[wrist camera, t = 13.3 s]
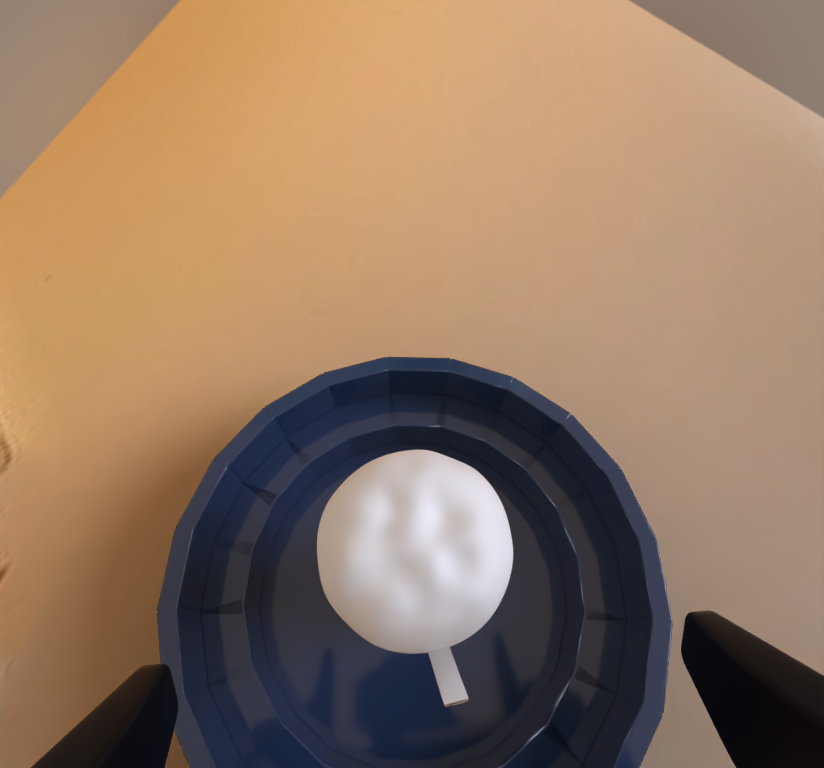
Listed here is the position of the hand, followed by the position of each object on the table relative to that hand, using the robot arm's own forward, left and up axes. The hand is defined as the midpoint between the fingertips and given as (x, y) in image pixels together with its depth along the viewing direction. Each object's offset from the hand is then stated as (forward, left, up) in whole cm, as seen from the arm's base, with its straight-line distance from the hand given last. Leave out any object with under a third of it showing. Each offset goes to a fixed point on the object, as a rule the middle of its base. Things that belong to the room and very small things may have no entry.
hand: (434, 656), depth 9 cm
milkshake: (+1, +2, -10) cm, 11 cm away
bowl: (+1, +2, -11) cm, 11 cm away
